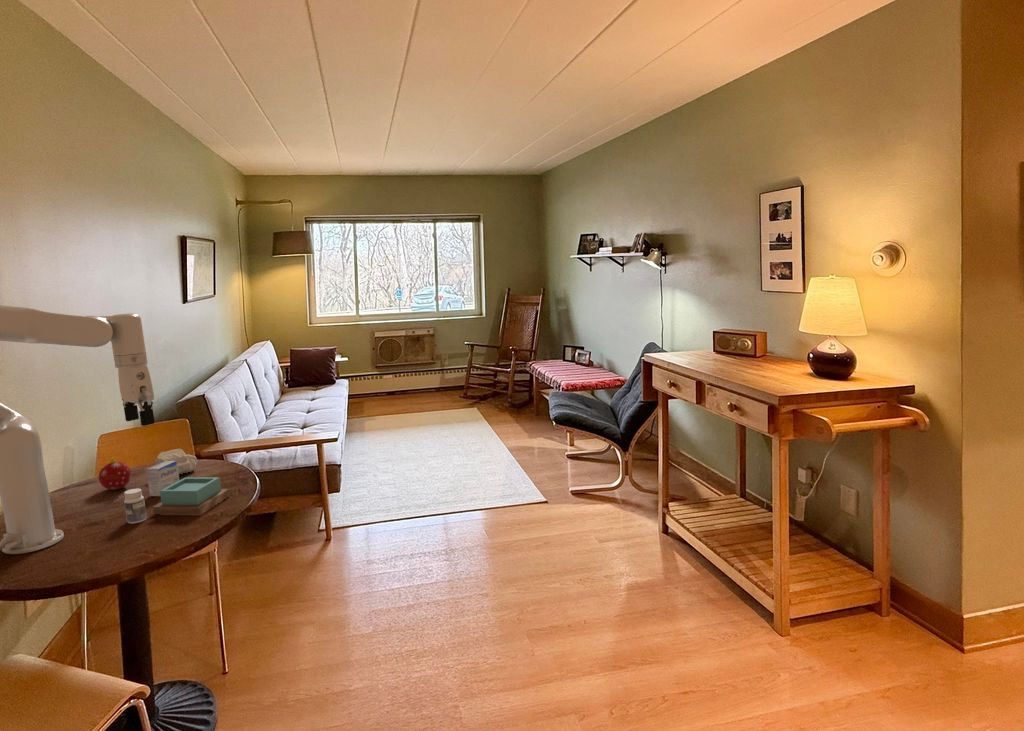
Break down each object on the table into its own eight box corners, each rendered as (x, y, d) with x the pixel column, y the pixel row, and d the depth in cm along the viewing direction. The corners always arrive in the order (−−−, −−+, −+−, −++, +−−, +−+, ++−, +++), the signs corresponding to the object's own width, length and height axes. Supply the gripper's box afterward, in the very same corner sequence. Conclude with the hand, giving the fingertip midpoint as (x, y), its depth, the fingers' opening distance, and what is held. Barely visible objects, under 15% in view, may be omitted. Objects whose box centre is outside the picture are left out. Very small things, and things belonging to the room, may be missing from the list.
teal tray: (198, 504, 177) (196, 490, 176) (161, 504, 179) (159, 491, 178) (221, 490, 188) (219, 477, 187) (186, 490, 189) (184, 477, 189)
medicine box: (162, 497, 191) (158, 469, 190) (149, 496, 192) (145, 468, 191) (180, 487, 199) (177, 460, 198) (168, 487, 200) (164, 460, 199)
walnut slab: (200, 517, 176) (199, 507, 175) (154, 517, 178) (152, 506, 177) (230, 498, 189) (228, 488, 189) (186, 498, 192) (185, 488, 191)
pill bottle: (124, 521, 174) (119, 491, 172) (142, 515, 178) (138, 486, 176) (131, 525, 171) (126, 495, 170) (150, 519, 175) (145, 489, 173)
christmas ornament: (95, 494, 196) (90, 463, 194) (110, 485, 204) (105, 454, 203) (124, 493, 196) (119, 461, 195) (138, 483, 205) (133, 453, 203)
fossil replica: (204, 470, 216) (181, 470, 219) (201, 445, 216) (178, 446, 219) (175, 479, 205) (151, 479, 208) (172, 453, 204) (148, 454, 207)
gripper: (160, 360, 170) (169, 423, 173) (132, 356, 180) (141, 415, 183) (129, 364, 164) (139, 429, 167) (102, 360, 174) (112, 421, 177)
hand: (140, 422), depth 175 cm, fingers open, 9 cm apart
